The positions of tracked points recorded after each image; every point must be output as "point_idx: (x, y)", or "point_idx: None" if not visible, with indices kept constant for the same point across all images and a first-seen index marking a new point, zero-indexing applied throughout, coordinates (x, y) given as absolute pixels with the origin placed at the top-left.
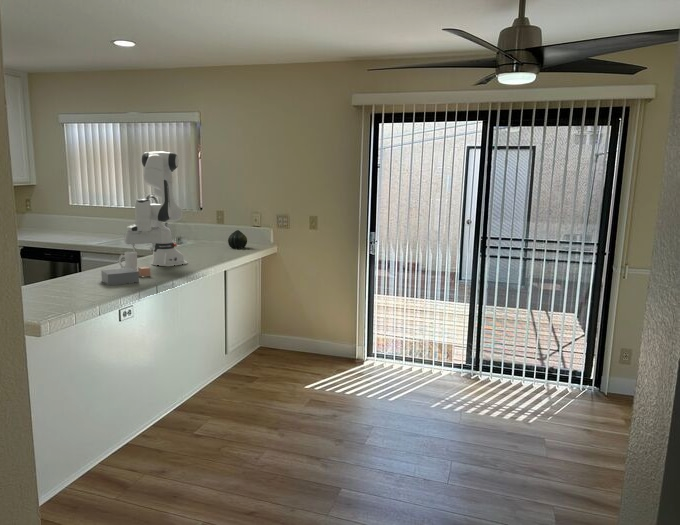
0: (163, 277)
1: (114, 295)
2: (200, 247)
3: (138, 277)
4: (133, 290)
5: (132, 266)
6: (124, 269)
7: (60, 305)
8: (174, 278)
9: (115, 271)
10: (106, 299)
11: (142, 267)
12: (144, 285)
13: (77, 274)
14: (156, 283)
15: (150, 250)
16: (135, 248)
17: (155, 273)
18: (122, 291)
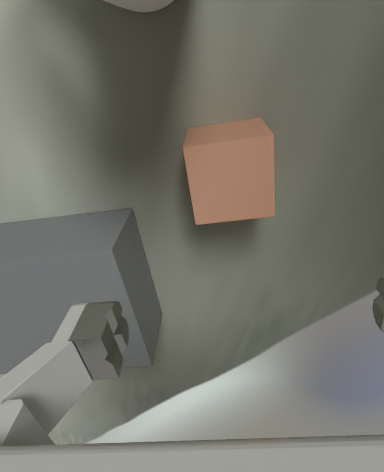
0: (332, 243)
1: (66, 430)
2: None
3: (156, 335)
4: (128, 405)
5: (134, 6)
6: (59, 288)
7: None
8: None
9: (8, 326)
10: None
11: (219, 167)
12: (179, 362)
13: None
14: (240, 349)
15: (379, 294)
16: (91, 341)
17: (347, 78)
18: (89, 405)
